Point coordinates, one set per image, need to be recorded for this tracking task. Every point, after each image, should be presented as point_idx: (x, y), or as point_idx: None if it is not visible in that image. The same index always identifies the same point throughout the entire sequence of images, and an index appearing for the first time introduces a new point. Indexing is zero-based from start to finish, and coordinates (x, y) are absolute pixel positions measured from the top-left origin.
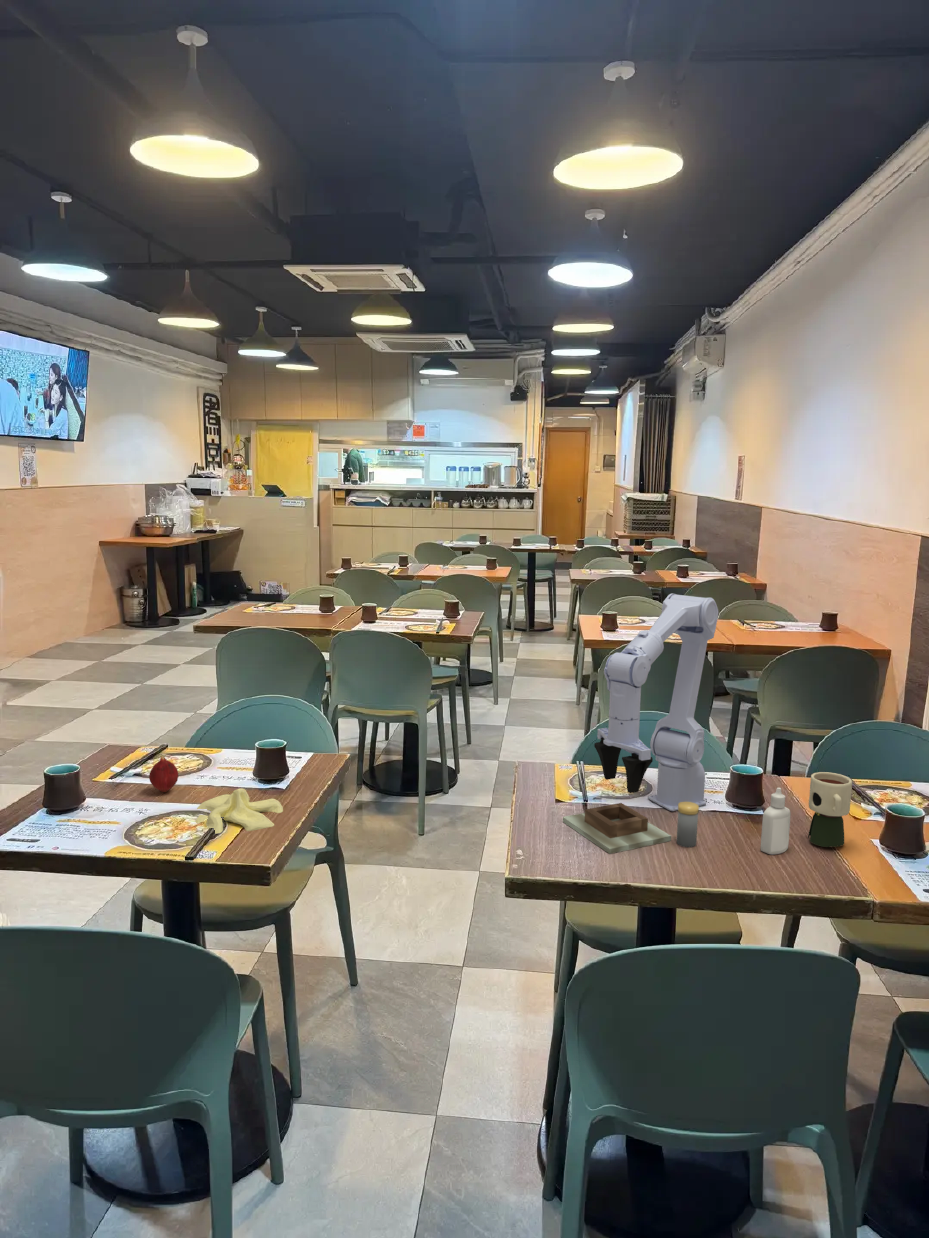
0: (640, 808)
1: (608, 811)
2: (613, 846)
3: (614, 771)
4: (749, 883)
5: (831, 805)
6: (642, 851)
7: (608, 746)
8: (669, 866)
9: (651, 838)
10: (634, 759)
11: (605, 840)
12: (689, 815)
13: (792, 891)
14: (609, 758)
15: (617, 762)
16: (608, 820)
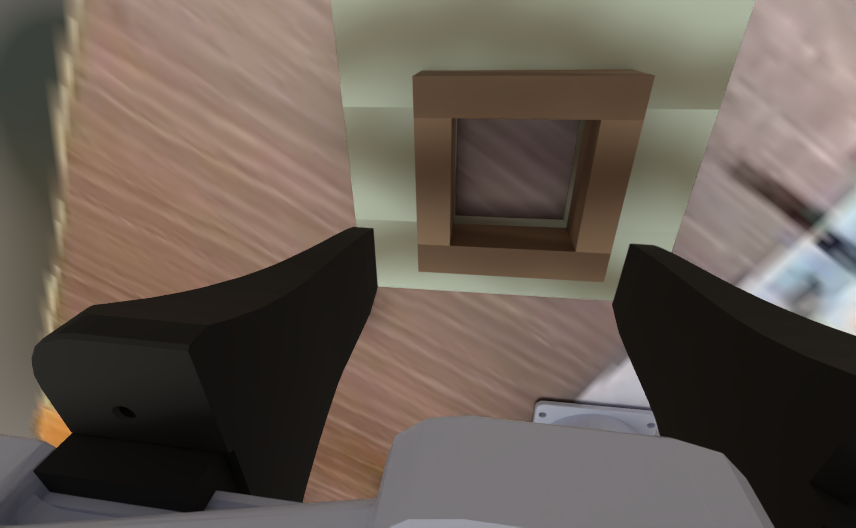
0: (616, 353)
1: (583, 191)
2: (346, 30)
3: (628, 329)
4: (96, 274)
5: None
6: (325, 145)
7: (796, 499)
8: (204, 154)
9: (365, 219)
10: (81, 409)
11: (412, 35)
12: None
13: (61, 321)
14: (698, 375)
15: (650, 401)
16: (470, 106)
